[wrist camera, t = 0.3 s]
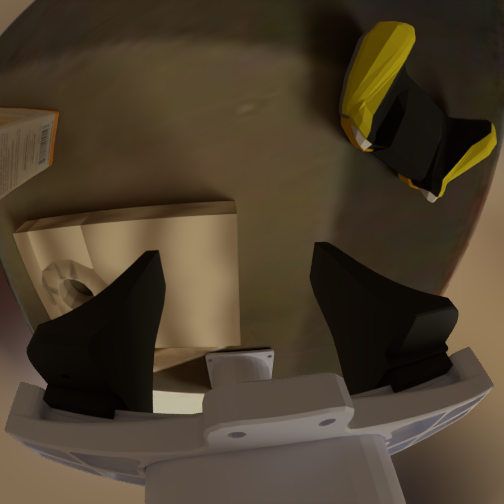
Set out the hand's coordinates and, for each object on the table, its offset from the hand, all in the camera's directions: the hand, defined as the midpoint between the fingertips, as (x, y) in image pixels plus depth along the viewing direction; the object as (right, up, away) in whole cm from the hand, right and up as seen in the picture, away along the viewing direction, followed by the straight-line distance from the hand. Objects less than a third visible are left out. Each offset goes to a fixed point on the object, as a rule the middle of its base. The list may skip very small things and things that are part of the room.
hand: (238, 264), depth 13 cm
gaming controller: (+13, +12, +6) cm, 19 cm away
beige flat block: (-11, -2, +11) cm, 16 cm away
